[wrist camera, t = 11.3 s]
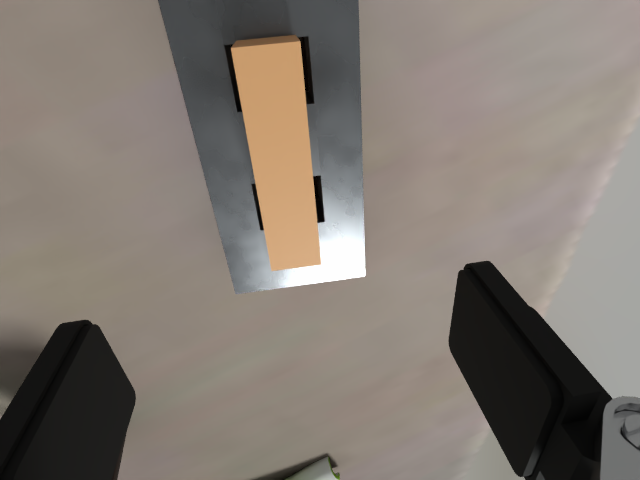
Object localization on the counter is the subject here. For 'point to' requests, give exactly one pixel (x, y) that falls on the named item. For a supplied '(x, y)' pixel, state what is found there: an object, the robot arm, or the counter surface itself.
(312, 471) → the green celery stalk
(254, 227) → the dark gray slotted block
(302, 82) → the tan bridge block
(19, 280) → the counter surface
